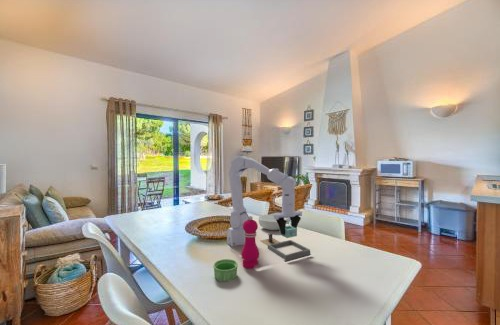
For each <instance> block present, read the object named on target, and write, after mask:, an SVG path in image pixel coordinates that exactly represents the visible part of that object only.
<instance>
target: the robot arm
mask: <svg viewBox="0 0 500 325" xmlns="http://www.w3.org/2000/svg"><path fill="white" fill-rule="evenodd" d="M248 169H253V170H255V171H258V172H260V173H261V174H263V175H265V176H266V178H267V179H268V180H269V181H271V182H272V183H274V184H276V185H278V186H280V188H281V189H282V190H281V191H282V192H281V212H278V213H276V214H273V215H274V219H276V221H277V223H278V225H279V228H280V232H281V234H283V235H285V226H287V222H288V220H287V218H289V219H290V224H291V225H290V226H292V227H294V228H297V229H298V225H299V223H300V222H301V220H302V219H301V216H302V215H303V211H301V210H296V209H295V208H296V205H295V204H296V203H295V202H296V197H295V196H296V192H295V191H296V190H295V187H296V185H297V181H296V179H295V178H294V177H293V176H290V175H288V174H287V173H283V172H281V171H280V169H279V168H271V169H270V168H269V167H267V166H265V165H264V164H262V163H260V162H259V161H258V160H255V159H254V158H253V157H249V156H247V155H243V156H239V155H236V156H235V157H234V158H233V159H231V161H230V168H229V170H228V177H229V186H230V195H231V203H232V210H231V212H230V218H229V223H230V226H231V227H228V228H227V230H226V242H227V243H226V244H227V245H228V246H230V248H232V247H236V246H244V245H245V236H244V232H245V231H244V229H243V223H244V222H245V221H246V220H248V217H249V216H250V215H249V214H248V212H247V209H246V207H245V206H244V200H243V190H242V183H241V175H242V174H243V172H244V171H245V170H248ZM284 218H286V220H285V219H284Z"/></svg>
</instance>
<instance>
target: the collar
mask: <svg viewBox="0 0 500 325" xmlns="http://www.w3.org/2000/svg"><path fill="white" fill-rule="evenodd" d="M278 230H279V236H282V237H283V238H286V239H290V238H294V237H297V236H298V227H297V228H294V227H292V226H291V225H289V224H288V225H287V224H286V226H285V235H283V234H281V232H280V228H279V229H278Z"/></svg>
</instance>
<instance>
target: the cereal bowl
mask: <svg viewBox="0 0 500 325" xmlns="http://www.w3.org/2000/svg"><path fill="white" fill-rule="evenodd" d="M274 215H275V214H263V215H259V216H258V225H259V227H261V228H263V229H265V230H268V231H278V230H279V225H278V223H277V221H276V219H274ZM284 219H285V220H286V221H287V218H284Z"/></svg>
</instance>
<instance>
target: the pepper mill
mask: <svg viewBox="0 0 500 325" xmlns="http://www.w3.org/2000/svg"><path fill="white" fill-rule="evenodd" d="M248 216H249V217H248V220H246V221H245V222H244V223H243V229H244V231H245V232H244V236H245V244H244V245H243V247H242V249H241V255H240V256H241V258H242V267H243V268H246V269H251V270H252V269H256V266H257V265H258V263H259V260H258V259H259V257H260V252H259V251H260V250H259V248H258V245H257V243H256V236H257V230H258V228H259V226H258V225H259V224H258V223H257V222H258V221H256V220H254V219H253V216H251V215H248Z"/></svg>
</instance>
